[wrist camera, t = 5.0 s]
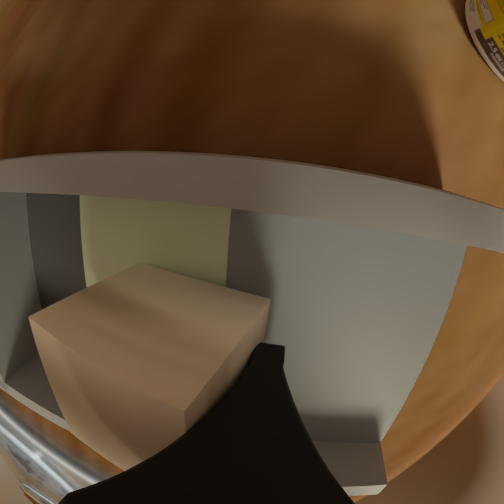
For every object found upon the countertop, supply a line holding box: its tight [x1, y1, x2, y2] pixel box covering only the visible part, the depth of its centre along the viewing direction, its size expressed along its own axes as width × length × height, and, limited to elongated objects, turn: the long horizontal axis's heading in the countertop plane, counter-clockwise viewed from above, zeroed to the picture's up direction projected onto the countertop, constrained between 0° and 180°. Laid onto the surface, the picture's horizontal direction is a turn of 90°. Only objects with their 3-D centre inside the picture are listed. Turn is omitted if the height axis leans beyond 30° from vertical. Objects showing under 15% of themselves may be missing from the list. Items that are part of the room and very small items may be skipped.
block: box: [28, 263, 271, 471], centre depth 7 cm, size 4×4×4 cm
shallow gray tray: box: [0, 151, 504, 496], centre depth 10 cm, size 12×20×5 cm, turn 84°
